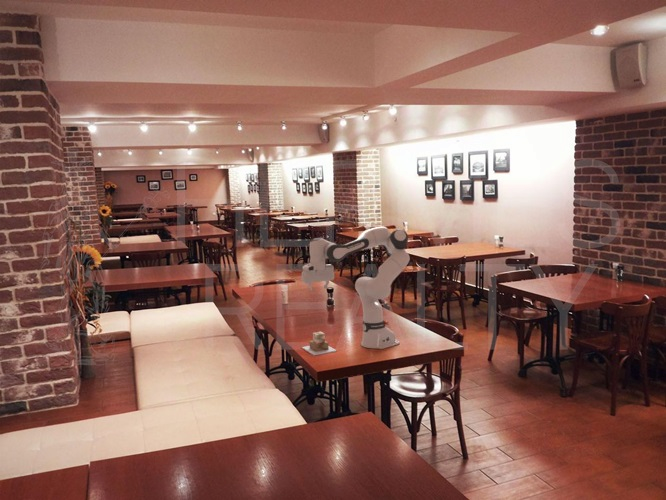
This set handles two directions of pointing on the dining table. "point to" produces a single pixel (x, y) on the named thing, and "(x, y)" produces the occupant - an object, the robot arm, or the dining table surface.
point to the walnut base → (319, 346)
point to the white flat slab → (318, 351)
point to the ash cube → (319, 337)
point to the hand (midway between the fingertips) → (318, 289)
